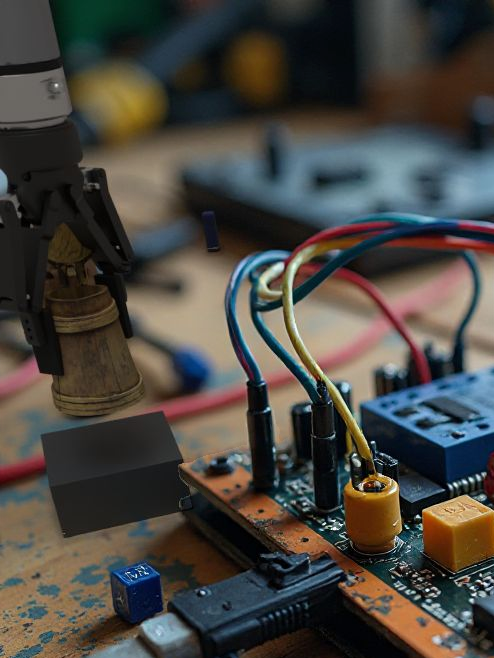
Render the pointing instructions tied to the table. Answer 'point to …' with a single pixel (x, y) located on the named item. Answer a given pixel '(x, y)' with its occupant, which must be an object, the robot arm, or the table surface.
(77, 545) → the table surface
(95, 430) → the riser block
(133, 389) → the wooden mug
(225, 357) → the table surface
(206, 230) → the eraser
